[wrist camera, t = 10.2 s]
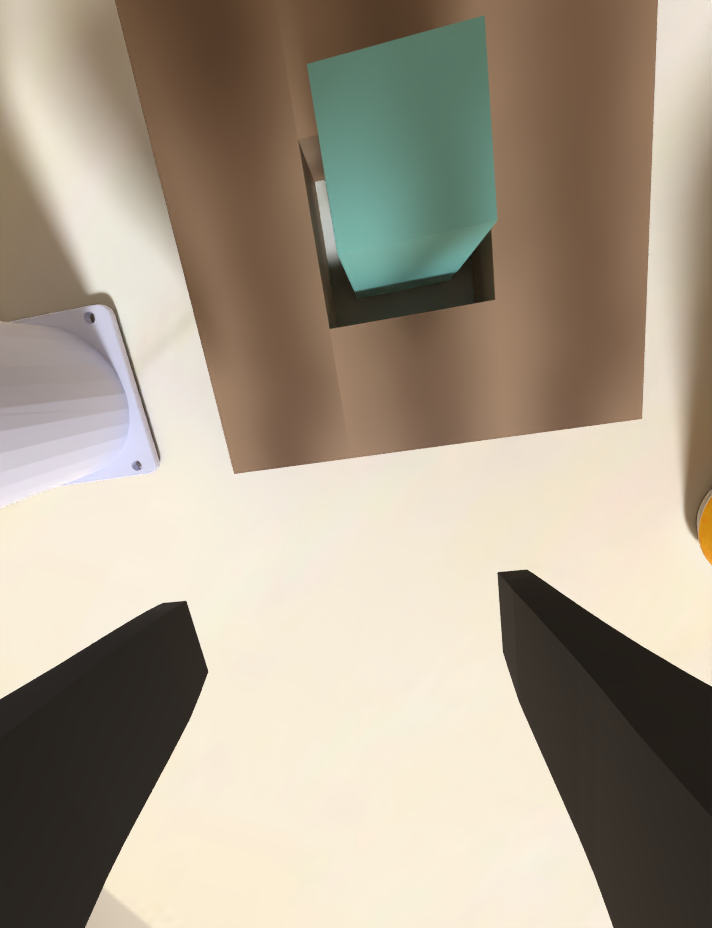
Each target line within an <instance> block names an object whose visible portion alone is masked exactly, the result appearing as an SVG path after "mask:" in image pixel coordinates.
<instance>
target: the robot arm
mask: <svg viewBox="0 0 712 928" xmlns="http://www.w3.org/2000/svg"><path fill="white" fill-rule="evenodd" d="M92 313H93V314H94V316H95V321H94V323H92V321H91V317H90V316H91V314H92ZM137 461H139V462H140V463H141V465H142V468H139V467H138V465H137ZM159 466H160V463H159V458H158V455H157V452H156V449H155V445H154V442H153V439H152V435H151V432H150V429H149V425H148V422H147V419H146V416H145V412H144V409H143V406H142V402H141V399H140V396H139V392H138V389H137V386H136V382H135V379H134V376H133V373H132V369H131V366H130V363H129V359H128V356H127V353H126V349H125V346H124V343H123V339H122V336H121V333H120V330H119V326H118V323H117V320H116V316H115V314H114V312H113V310H112V309H111V308H110V307H108V306H106V305H102V304H94V305H89V306H84V307H79V308H74V309H69V310H64V311H59V312H54V313H49V314H44V315H39V316H34V317H29V318H24V319H19V320H14V321H9V322H4V321H0V508H3V507H5V506H8V505H11V504H13V503H16V502H19V501H21V500H24V499H26V498H29V497H32V496H34V495H37V494H39V493H42V492H45V491H47V490H50V489H53V488H55V487H58V486H65V485H72V484H79V483H86V482H93V481H101V480H108V479H115V478H122V477H129V476H136V475H144V474H150V473H153V472H155V471H157V470H158V469H159ZM498 586H499V601H500V615H501V630H502V644H503V653H504V656H505V660H506V663H507V666H508V669H509V672H510V675H511V679H512V682H513V685H514V688H515V691H516V694H517V697H518V700H519V702H520V705H521V707H522V709H523V712H524V714H525V716H526V719H527V721H528V723H529V725H530V728H531V730H532V732H533V735H534V737H535V739H536V741H537V744H538V746H539V748H540V750H541V753H542V755H543V757H544V759H545V762H546V764H547V766H548V768H549V771H550V773H551V775H552V777H553V780H554V782H555V784H556V786H557V789H558V791H559V793H560V796H561V798H562V800H563V802H564V805H565V807H566V809H567V811H568V814H569V816H570V818H571V820H572V823H573V825H574V827H575V829H576V832H577V834H578V836H579V838H580V841H581V843H582V846H583V848H584V851H585V853H586V856H587V858H588V860H589V863H590V865H591V868H592V870H593V873H594V875H595V878H596V880H597V883H598V886H599V889H600V891H601V894H602V897H603V900H604V902H605V905H606V908H607V911H608V913H609V916H610V919H611V922H612V924H613V927H614V928H712V687H711V686H710V685H708V684H706V683H704V682H702V681H701V680H699V679H697V678H695V677H693V676H692V675H690V674H688V673H686V672H685V671H683V670H681V669H680V668H678V667H676V666H675V665H673V664H671V663H670V662H668V661H666V660H664V659H663V658H661V657H659V656H658V655H656V654H654V653H653V652H651V651H649V650H648V649H646V648H644V647H643V646H641V645H639V644H638V643H636V642H635V641H633V640H631V639H630V638H628V637H627V636H625V635H623V634H622V633H620V632H619V631H617V630H616V629H614V628H612V627H611V626H609V625H608V624H606V623H605V622H603V621H602V620H600V619H599V618H597V617H596V616H594V615H593V614H591V613H590V612H588V611H587V610H585V609H584V608H582V607H581V606H579V605H578V604H576V603H575V602H574V601H572V600H571V599H569V598H568V597H566V596H565V595H563V594H562V593H560V592H559V591H558V590H556V589H555V588H553V587H552V586H550V585H549V584H548V583H546V582H545V581H543V580H542V579H540V578H539V577H538V576H536V575H535V574H533V573H532V572H530V571H528V570H518V571H507V572H498ZM207 674H208V669H207V666H206V663H205V659H204V656H203V653H202V650H201V647H200V643H199V640H198V637H197V634H196V631H195V627H194V624H193V621H192V618H191V615H190V611H189V608H188V605H187V602H186V601H180V602H170V603H162V604H160V605H158V606H156V607H154V608H152V609H150V610H148V611H146V612H144V613H143V614H141V615H139V616H137V617H136V618H134V619H132V620H131V621H129V622H127V623H126V624H124V625H122V626H121V627H119V628H117V629H116V630H114V631H112V632H111V633H109V634H108V635H106V636H104V637H103V638H101V639H99V640H98V641H96V642H95V643H93V644H91V645H90V646H88V647H87V648H85V649H83V650H82V651H80V652H78V653H77V654H75V655H74V656H72V657H70V658H69V659H67V660H66V661H64V662H62V663H61V664H59V665H57V666H56V667H54V668H52V669H51V670H49V671H47V672H46V673H44V674H42V675H41V676H39V677H37V678H36V679H34V680H32V681H31V682H29V683H27V684H25V685H24V686H22V687H20V688H19V689H17V690H15V691H14V692H12V693H10V694H9V695H7V696H5V697H3V698H2V699H0V928H85V926H86V924H87V922H88V919H89V917H90V915H91V913H92V910H93V908H94V906H95V904H96V901H97V899H98V897H99V895H100V892H101V890H102V888H103V886H104V884H105V881H106V879H107V877H108V875H109V873H110V871H111V869H112V867H113V865H114V863H115V861H116V859H117V857H118V855H119V853H120V851H121V849H122V847H123V844H124V842H125V841H126V839H127V837H128V835H129V833H130V831H131V829H132V827H133V826H134V824H135V822H136V820H137V818H138V816H139V814H140V812H141V811H142V809H143V807H144V805H145V803H146V801H147V799H148V797H149V796H150V794H151V792H152V790H153V788H154V786H155V784H156V783H157V781H158V779H159V777H160V775H161V773H162V771H163V769H164V768H165V766H166V764H167V762H168V760H169V758H170V756H171V754H172V752H173V751H174V749H175V747H176V745H177V743H178V741H179V739H180V737H181V735H182V733H183V731H184V729H185V727H186V725H187V723H188V722H189V720H190V717H191V715H192V713H193V710H194V708H195V705H196V703H197V700H198V698H199V695H200V693H201V690H202V687H203V685H204V682H205V679H206V676H207Z"/></svg>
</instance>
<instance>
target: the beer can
mask: <svg viewBox="0 0 712 928" xmlns="http://www.w3.org/2000/svg"><path fill="white" fill-rule="evenodd" d="M697 531H698V537H699V543H700V547H701V550H702V552H703V554H704V556H705V557H706V559H707V560H708V561H709V563H710V564H711V565H712V488H711V490H710V491H709V492H708V493H707V495H706V496H705V498H704V499H703V501H702V503H701V505H700V508H699V511H698V515H697Z"/></svg>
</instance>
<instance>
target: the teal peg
mask: <svg viewBox="0 0 712 928" xmlns="http://www.w3.org/2000/svg"><path fill="white" fill-rule="evenodd" d="M307 69H308V75H309V81H310V87H311V93H312V99H313V106H314V112H315V118H316V124H317V130H318V137H319V143H320V149H321V155H322V161H323V167H324V174H325V180H326V186H327V192H328V198H329V204H330V211H331V217H332V223H333V229H334V235H335V241H336V248H337V254H338V256H339V259H340V261H341V263H342V265H343V267H344V270H345V272H346V274H347V276H348V279H349V281H350V283H351V285H352V287H353V290H354V292H355V294H356V296H357V299H359V298H364V297H369V296H375V295H380V294H385V293H390V292H395V291H400V290H405V289H411V288H416V287H421V286H426V285H431V284H436V283H441V282H446V281H450V280H451V279H452V278H453V276H454V275H455V274H456V273H457V271H458V270H459V269H460V267H461V266H462V265H463V264H464V262H465V261H466V260H467V259H468V257H469V256H470V255H471V254H472V252H473V251H474V250H475V248H476V247H477V246H478V245H479V243H480V242H481V241H482V240H483V238H484V237H485V236H486V234H487V233H488V232H489V231H490V229H491V228H492V227H493V226H494V224H495V223H496V222H497V205H496V189H495V173H494V157H493V142H492V126H491V110H490V94H489V78H488V62H487V46H486V30H485V15H484V16H480V17H476V18H473V19H469V20H465V21H462V22H458V23H454V24H451V25H447V26H444V27H440V28H436V29H433V30H429V31H425V32H422V33H418V34H414V35H411V36H407V37H404V38H400V39H396V40H393V41H389V42H385V43H382V44H378V45H374V46H371V47H367V48H364V49H360V50H356V51H353V52H349V53H345V54H342V55H338V56H335V57H331V58H327V59H324V60H320V61H316V62H313V63H309V64H307Z"/></svg>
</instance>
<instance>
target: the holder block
mask: <svg viewBox="0 0 712 928" xmlns="http://www.w3.org/2000/svg"><path fill="white" fill-rule="evenodd" d="M115 2H116V6H117V10H118V14H119V18H120V22H121V26H122V30H123V34H124V38H125V42H126V46H127V50H128V54H129V58H130V62H131V66H132V70H133V74H134V78H135V82H136V86H137V90H138V94H139V98H140V102H141V106H142V109H143V113H144V117H145V121H146V125H147V129H148V133H149V137H150V141H151V145H152V149H153V153H154V157H155V161H156V165H157V169H158V173H159V177H160V181H161V185H162V189H163V193H164V197H165V201H166V205H167V209H168V213H169V217H170V221H171V225H172V229H173V233H174V237H175V241H176V245H177V248H178V252H179V256H180V260H181V264H182V268H183V272H184V276H185V280H186V284H187V288H188V292H189V296H190V300H191V304H192V308H193V312H194V316H195V320H196V324H197V328H198V332H199V336H200V340H201V344H202V348H203V352H204V356H205V360H206V364H207V368H208V372H209V376H210V380H211V384H212V387H213V391H214V395H215V399H216V403H217V407H218V411H219V415H220V419H221V423H222V427H223V431H224V435H225V439H226V443H227V447H228V451H229V455H230V459H231V463H232V467H233V471H234V474H237V473H244V472H252V471H259V470H267V469H274V468H281V467H289V466H296V465H304V464H311V463H318V462H326V461H333V460H341V459H348V458H355V457H363V456H370V455H378V454H385V453H392V452H400V451H407V450H415V449H422V448H429V447H437V446H444V445H452V444H459V443H466V442H474V441H481V440H489V439H496V438H503V437H511V436H518V435H526V434H533V433H540V432H548V431H555V430H563V429H570V428H577V427H585V426H592V425H600V424H607V423H614V422H622V421H629V420H637V419H642V404H643V377H644V351H645V325H646V298H647V272H648V245H649V219H650V193H651V166H652V140H653V114H654V87H655V61H656V34H657V8H658V0H115ZM484 15H485V30H486V46H487V62H488V78H489V94H490V110H491V126H492V142H493V157H494V173H495V189H496V205H497V222H496V223H495V224H494V226H493V227H492V228H491V229H490V231H489V232H488V233H487V234H486V236H485V237H484V238H483V240H482V241H481V242H480V243H479V245H478V246H477V247H476V248H475V250H474V251H473V252H472V268H473V282H474V296H475V303H474V304H469V305H463V306H457V307H452V308H446V309H440V310H435V311H429V312H423V313H418V314H412V315H406V316H401V317H395V318H389V319H384V320H378V321H373V322H367V323H361V324H356V325H350V326H344V327H339V328H338V324H337V318H336V312H335V306H334V299H333V293H332V287H331V281H330V274H329V268H328V262H327V256H326V250H325V243H324V237H323V231H322V225H321V219H320V212H319V206H318V200H317V194H316V187H315V181H320V180H324V179H325V174H324V167H323V161H322V155H321V149H320V143H319V137H318V130H317V124H316V118H315V112H314V106H313V99H312V93H311V87H310V81H309V75H308V69H307V64H309V63H313V62H316V61H320V60H324V59H327V58H331V57H335V56H338V55H342V54H345V53H349V52H353V51H356V50H360V49H364V48H367V47H371V46H374V45H378V44H382V43H385V42H389V41H393V40H396V39H400V38H404V37H407V36H411V35H414V34H418V33H422V32H425V31H429V30H433V29H436V28H440V27H444V26H447V25H451V24H454V23H458V22H462V21H465V20H469V19H473V18H476V17H480V16H484Z"/></svg>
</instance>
